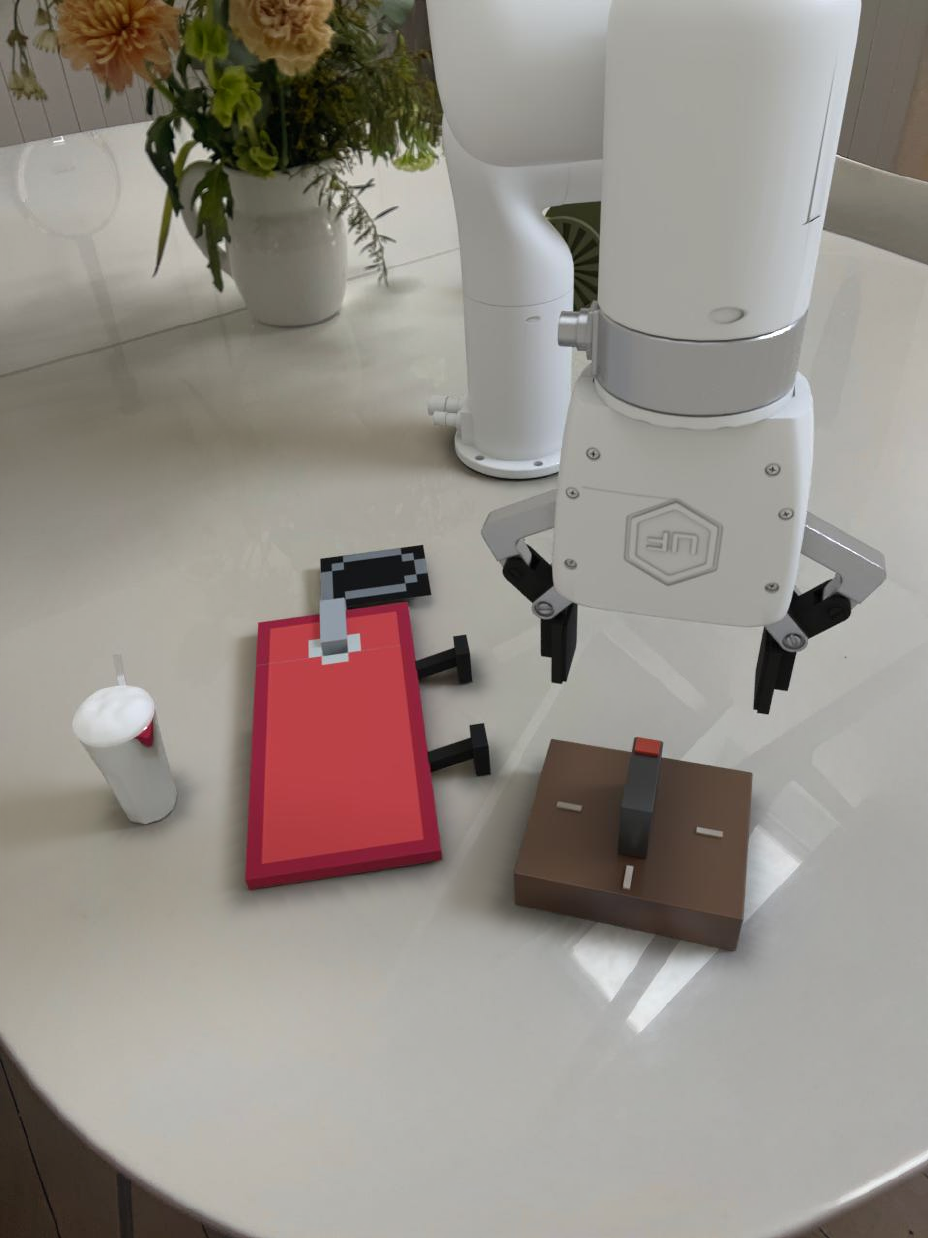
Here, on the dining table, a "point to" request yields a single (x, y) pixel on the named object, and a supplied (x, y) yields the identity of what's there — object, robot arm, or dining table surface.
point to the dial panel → (628, 885)
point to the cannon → (580, 246)
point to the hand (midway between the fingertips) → (660, 679)
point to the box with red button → (640, 797)
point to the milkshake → (128, 748)
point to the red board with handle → (348, 729)
